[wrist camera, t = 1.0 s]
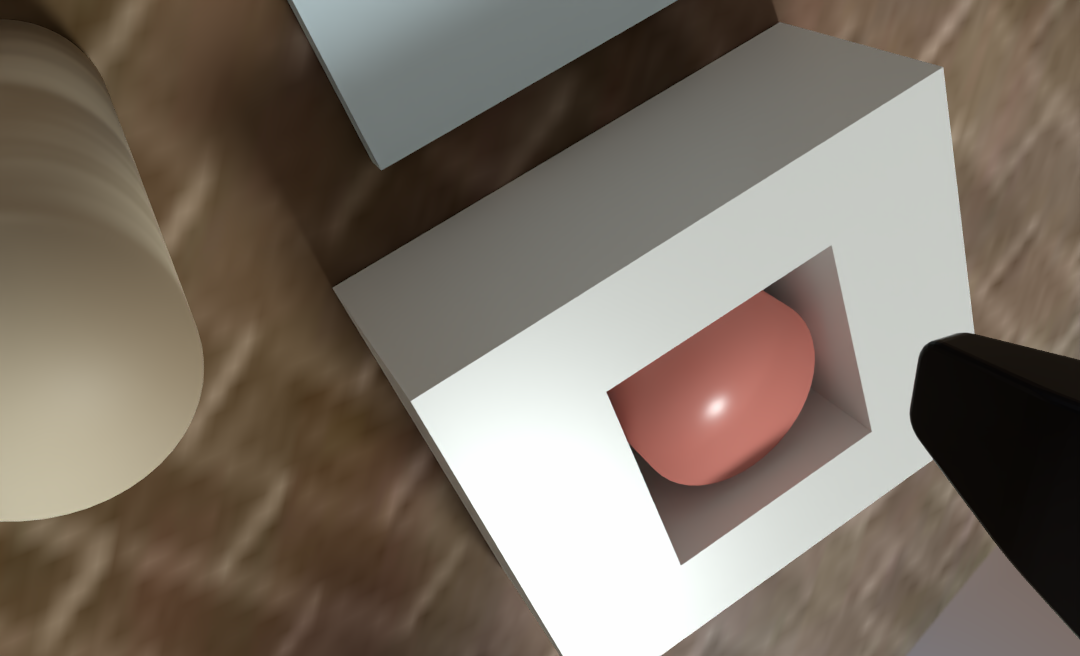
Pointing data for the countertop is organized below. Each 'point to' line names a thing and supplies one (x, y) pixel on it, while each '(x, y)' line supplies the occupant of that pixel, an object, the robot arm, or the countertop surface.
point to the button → (720, 394)
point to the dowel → (80, 293)
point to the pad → (447, 57)
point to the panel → (681, 328)
